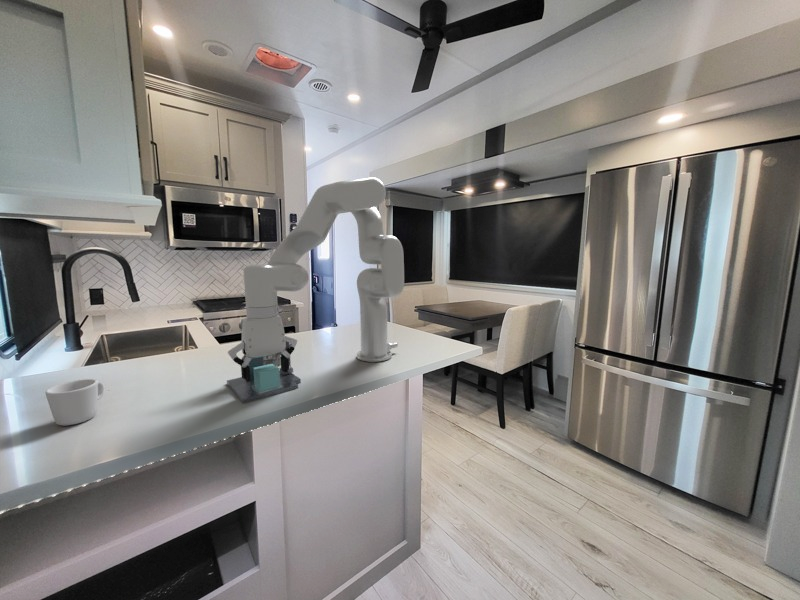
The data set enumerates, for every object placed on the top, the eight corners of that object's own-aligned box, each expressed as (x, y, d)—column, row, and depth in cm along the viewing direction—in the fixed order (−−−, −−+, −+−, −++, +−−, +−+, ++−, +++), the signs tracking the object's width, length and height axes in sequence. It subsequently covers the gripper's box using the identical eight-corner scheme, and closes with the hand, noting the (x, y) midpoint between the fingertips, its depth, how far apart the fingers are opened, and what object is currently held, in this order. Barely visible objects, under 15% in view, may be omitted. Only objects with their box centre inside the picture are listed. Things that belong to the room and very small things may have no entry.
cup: (86, 406, 76) (81, 374, 75) (121, 405, 77) (117, 373, 76) (39, 430, 66) (32, 394, 65) (80, 429, 66) (74, 392, 65)
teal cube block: (273, 380, 88) (272, 363, 87) (280, 386, 84) (279, 368, 84) (254, 385, 85) (253, 367, 84) (260, 391, 81) (259, 373, 80)
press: (283, 370, 100) (280, 314, 97) (305, 385, 88) (302, 322, 86) (226, 383, 89) (221, 321, 87) (243, 403, 77) (237, 332, 75)
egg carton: (264, 358, 112) (263, 347, 112) (286, 357, 114) (285, 346, 113) (255, 369, 102) (255, 356, 101) (280, 367, 103) (279, 355, 103)
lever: (289, 369, 97) (287, 337, 96) (293, 372, 95) (291, 339, 93) (279, 371, 95) (277, 339, 94) (283, 374, 93) (281, 341, 91)
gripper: (289, 307, 90) (292, 364, 93) (221, 314, 79) (227, 379, 81) (300, 310, 85) (303, 371, 87) (229, 319, 73) (234, 389, 76)
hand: (266, 375), depth 84 cm, fingers open, 9 cm apart
